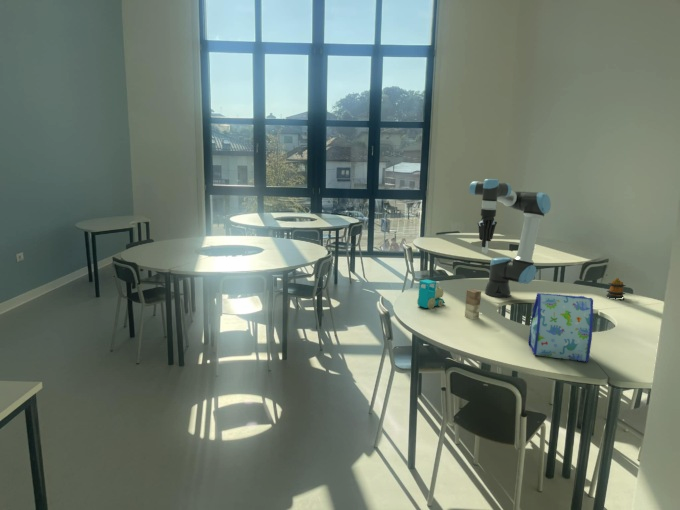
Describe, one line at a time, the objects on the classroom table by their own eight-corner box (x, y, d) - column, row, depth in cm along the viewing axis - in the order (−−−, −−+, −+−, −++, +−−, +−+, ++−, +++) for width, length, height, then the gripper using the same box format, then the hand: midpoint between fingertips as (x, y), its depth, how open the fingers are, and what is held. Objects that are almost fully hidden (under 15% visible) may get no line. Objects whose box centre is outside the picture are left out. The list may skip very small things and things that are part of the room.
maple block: (471, 314, 246) (472, 302, 244) (478, 317, 242) (480, 304, 240) (464, 316, 243) (465, 303, 242) (472, 319, 239) (473, 305, 238)
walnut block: (472, 301, 244) (473, 288, 243) (479, 304, 240) (481, 291, 239) (465, 303, 242) (466, 290, 240) (473, 305, 238) (474, 292, 236)
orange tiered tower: (624, 301, 287) (627, 282, 285) (605, 298, 292) (608, 280, 290) (623, 296, 299) (626, 278, 296) (605, 293, 303) (608, 276, 301)
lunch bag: (579, 349, 207) (587, 292, 202) (590, 364, 191) (599, 303, 186) (526, 343, 212) (532, 287, 207) (533, 358, 196) (540, 297, 191)
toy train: (446, 305, 266) (448, 279, 263) (428, 310, 255) (430, 283, 252) (434, 301, 272) (436, 276, 269) (416, 306, 261) (418, 280, 258)
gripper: (491, 207, 253) (486, 250, 258) (474, 208, 246) (470, 252, 250) (502, 209, 247) (498, 253, 251) (486, 209, 240) (481, 255, 244)
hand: (484, 252), depth 251 cm, fingers closed
